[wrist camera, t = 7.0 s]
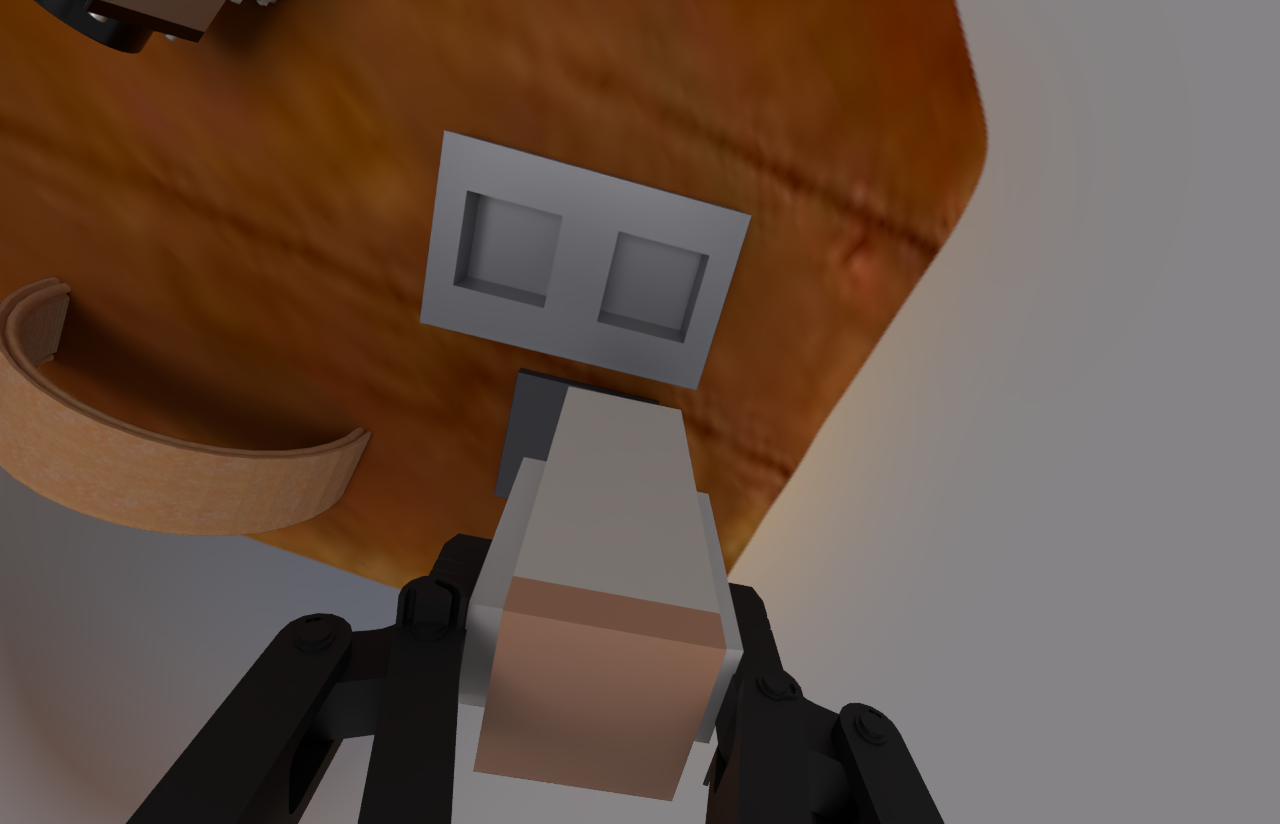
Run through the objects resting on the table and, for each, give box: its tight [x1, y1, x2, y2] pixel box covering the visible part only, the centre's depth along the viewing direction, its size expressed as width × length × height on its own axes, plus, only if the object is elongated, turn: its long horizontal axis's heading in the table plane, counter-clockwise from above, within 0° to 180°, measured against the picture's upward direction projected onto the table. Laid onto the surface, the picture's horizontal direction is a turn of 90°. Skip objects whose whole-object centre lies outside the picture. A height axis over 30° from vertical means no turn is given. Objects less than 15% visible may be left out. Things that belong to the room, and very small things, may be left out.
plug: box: [473, 386, 727, 801], centre depth 18 cm, size 4×4×12 cm
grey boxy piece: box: [420, 130, 751, 390], centre depth 34 cm, size 16×10×4 cm, turn 75°
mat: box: [494, 368, 658, 499], centre depth 40 cm, size 9×9×1 cm
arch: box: [0, 277, 372, 536], centre depth 35 cm, size 6×20×10 cm, turn 59°
